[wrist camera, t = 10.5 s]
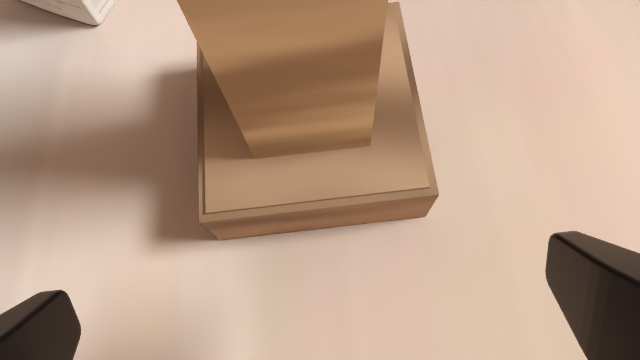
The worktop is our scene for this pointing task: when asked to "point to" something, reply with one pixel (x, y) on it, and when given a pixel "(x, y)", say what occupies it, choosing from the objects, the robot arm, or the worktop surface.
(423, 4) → the worktop surface
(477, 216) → the worktop surface
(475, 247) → the worktop surface
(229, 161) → the square wooden tray
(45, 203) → the worktop surface
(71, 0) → the skincare box
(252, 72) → the pillar block
